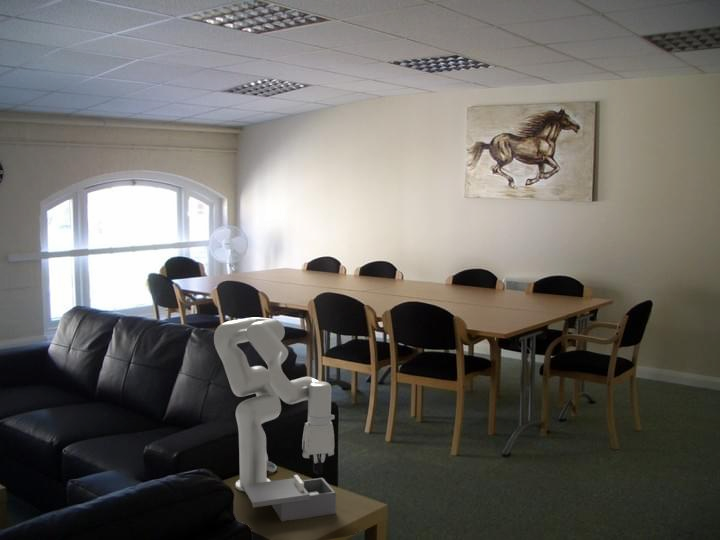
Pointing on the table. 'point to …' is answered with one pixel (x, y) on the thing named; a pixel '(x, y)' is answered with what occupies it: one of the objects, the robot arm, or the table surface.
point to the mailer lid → (276, 492)
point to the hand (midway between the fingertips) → (317, 473)
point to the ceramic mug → (270, 465)
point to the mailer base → (310, 502)
